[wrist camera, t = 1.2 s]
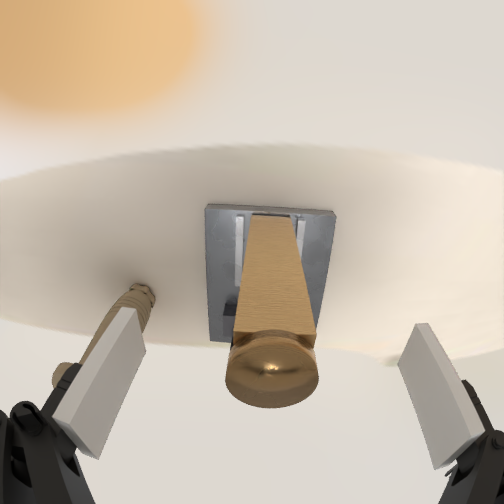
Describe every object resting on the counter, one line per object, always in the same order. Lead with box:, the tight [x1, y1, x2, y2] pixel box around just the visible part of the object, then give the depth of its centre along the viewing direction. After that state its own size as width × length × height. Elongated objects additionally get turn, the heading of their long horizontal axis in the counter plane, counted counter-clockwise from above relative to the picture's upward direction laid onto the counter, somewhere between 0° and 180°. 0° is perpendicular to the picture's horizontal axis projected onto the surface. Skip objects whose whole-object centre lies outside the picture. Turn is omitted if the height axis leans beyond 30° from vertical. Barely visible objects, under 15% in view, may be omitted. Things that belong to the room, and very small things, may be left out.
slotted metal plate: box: [205, 204, 336, 350], centre depth 25 cm, size 11×14×6 cm
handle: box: [52, 284, 155, 388], centre depth 23 cm, size 5×6×15 cm
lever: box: [225, 215, 319, 408], centre depth 17 cm, size 4×4×15 cm
